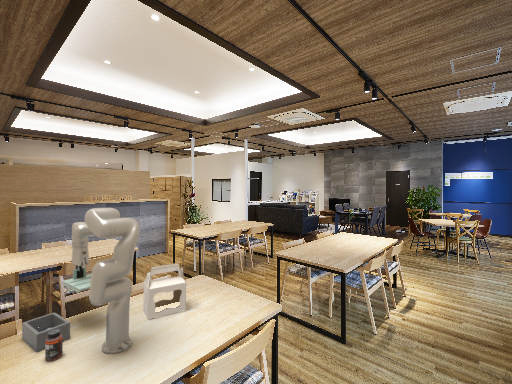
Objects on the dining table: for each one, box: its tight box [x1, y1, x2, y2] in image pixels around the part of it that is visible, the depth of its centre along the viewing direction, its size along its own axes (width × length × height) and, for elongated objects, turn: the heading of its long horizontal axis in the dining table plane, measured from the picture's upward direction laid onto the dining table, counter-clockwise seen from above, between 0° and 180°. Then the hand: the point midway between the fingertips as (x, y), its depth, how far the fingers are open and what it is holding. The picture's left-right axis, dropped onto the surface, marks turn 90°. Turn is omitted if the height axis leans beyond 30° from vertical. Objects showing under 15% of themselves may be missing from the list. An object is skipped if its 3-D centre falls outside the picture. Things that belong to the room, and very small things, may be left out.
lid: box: [61, 267, 92, 294], centre depth 139 cm, size 20×15×7 cm
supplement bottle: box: [44, 329, 64, 362], centre depth 112 cm, size 6×6×11 cm
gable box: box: [142, 262, 187, 321], centre depth 156 cm, size 22×13×28 cm, turn 124°
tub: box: [21, 312, 71, 354], centre depth 125 cm, size 18×13×8 cm
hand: (79, 277), depth 144 cm, fingers closed on lid, 1 cm apart
